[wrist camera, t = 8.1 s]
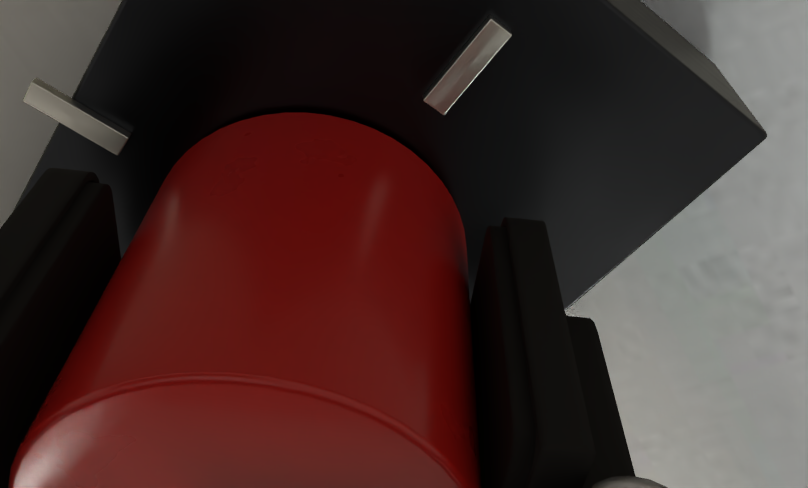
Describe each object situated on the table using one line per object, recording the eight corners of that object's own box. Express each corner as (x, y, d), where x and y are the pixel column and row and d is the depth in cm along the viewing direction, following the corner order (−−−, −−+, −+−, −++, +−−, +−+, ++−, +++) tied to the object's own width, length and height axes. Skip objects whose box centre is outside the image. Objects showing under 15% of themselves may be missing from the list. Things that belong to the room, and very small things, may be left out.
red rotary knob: (175, 353, 13) (51, 674, 9) (130, 99, 10) (-81, 388, 6) (451, 369, 13) (461, 695, 9) (483, 120, 10) (518, 422, 6)
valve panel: (267, -317, 10) (221, -319, 8) (735, 81, 13) (797, 162, 11) (-14, 239, 15) (-88, 331, 13) (361, 427, 18) (352, 528, 16)
